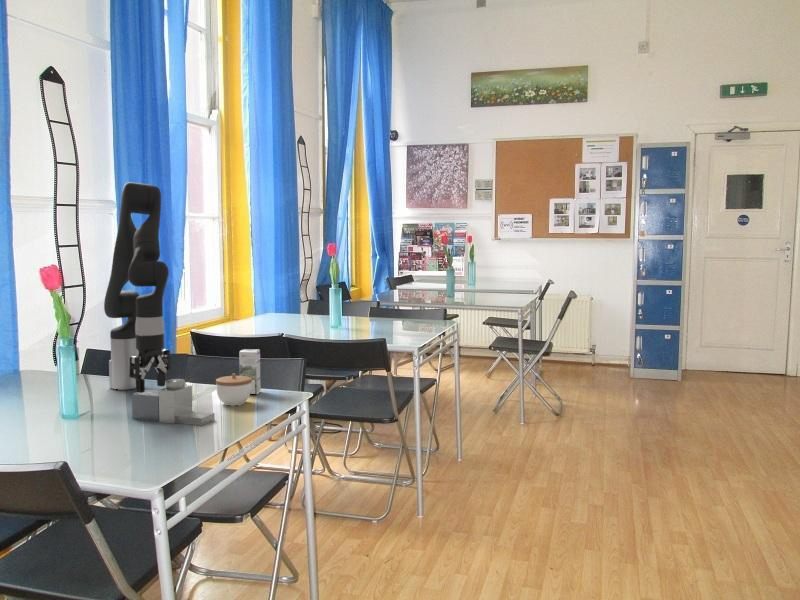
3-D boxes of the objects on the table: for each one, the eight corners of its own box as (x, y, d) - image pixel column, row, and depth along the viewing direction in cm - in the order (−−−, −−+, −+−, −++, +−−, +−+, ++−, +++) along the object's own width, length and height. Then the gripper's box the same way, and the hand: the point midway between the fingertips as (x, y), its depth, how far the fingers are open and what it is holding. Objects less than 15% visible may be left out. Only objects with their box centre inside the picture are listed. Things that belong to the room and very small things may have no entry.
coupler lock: (130, 418, 191) (129, 393, 190) (144, 413, 196) (144, 389, 196) (158, 421, 187) (158, 396, 187) (172, 416, 193) (172, 391, 192)
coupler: (129, 419, 189) (128, 380, 188) (149, 412, 197) (148, 375, 196) (199, 426, 182) (198, 386, 181) (216, 419, 189) (215, 380, 188)
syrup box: (261, 391, 225) (260, 348, 224) (256, 395, 219) (256, 351, 218) (244, 391, 225) (243, 348, 224) (239, 395, 219) (238, 351, 218)
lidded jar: (211, 407, 203) (211, 376, 202) (222, 399, 214) (221, 370, 213) (247, 408, 203) (246, 377, 202) (255, 399, 213) (255, 370, 213)
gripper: (155, 328, 197) (157, 383, 199) (120, 334, 184) (122, 393, 186) (177, 329, 195) (178, 385, 196) (143, 336, 182) (144, 395, 183)
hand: (151, 389), depth 191 cm, fingers open, 8 cm apart
